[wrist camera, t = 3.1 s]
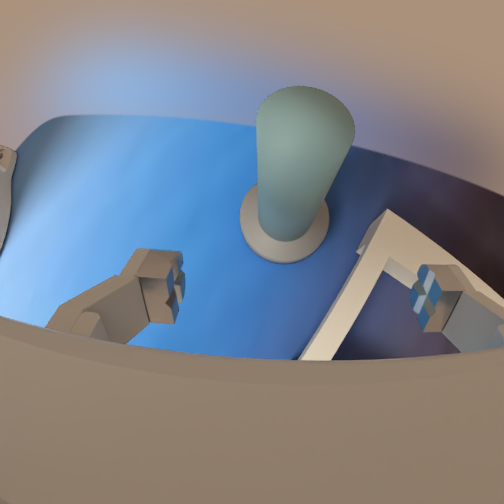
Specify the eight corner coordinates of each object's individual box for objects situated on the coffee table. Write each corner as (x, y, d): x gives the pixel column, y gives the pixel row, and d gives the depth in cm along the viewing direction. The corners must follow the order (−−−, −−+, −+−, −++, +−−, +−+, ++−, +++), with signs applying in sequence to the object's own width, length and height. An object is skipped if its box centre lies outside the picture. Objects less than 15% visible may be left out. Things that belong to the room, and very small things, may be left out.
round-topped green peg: (224, 234, 22) (188, 142, 10) (269, 170, 23) (277, 49, 11) (297, 280, 21) (342, 232, 9) (339, 211, 22) (404, 113, 10)
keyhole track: (268, 392, 20) (269, 405, 16) (370, 224, 22) (387, 208, 19) (475, 486, 16) (494, 498, 13) (541, 359, 19) (563, 360, 15)
